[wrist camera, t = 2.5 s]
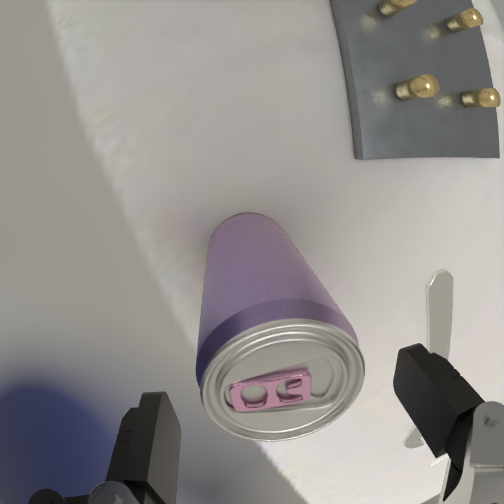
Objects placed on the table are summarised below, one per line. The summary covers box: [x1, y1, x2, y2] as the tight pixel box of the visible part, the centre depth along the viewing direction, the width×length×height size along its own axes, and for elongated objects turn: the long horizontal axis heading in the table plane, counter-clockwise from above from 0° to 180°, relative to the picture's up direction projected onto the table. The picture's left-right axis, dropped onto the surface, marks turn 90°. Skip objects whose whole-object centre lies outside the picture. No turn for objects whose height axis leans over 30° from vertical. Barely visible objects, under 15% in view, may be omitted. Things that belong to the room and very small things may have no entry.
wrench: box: [404, 270, 453, 448], centre depth 31 cm, size 8×32×1 cm, turn 18°
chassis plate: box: [330, 0, 500, 160], centre depth 17 cm, size 18×16×5 cm
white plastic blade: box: [429, 453, 448, 467], centre depth 39 cm, size 5×15×1 cm, turn 119°
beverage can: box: [196, 213, 365, 442], centre depth 16 cm, size 6×6×15 cm
